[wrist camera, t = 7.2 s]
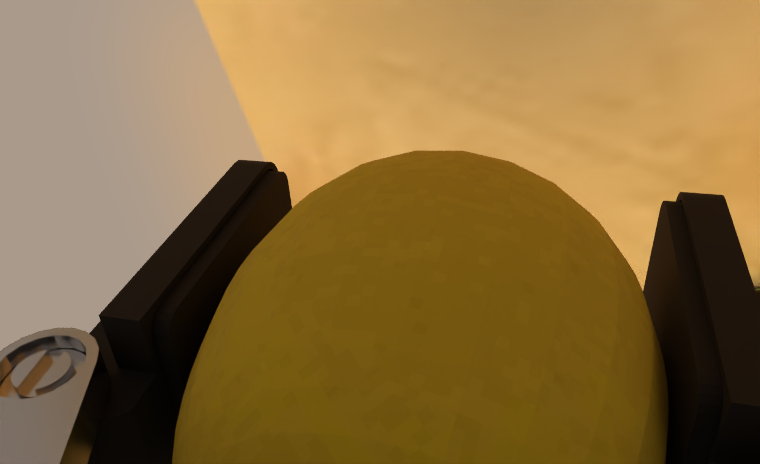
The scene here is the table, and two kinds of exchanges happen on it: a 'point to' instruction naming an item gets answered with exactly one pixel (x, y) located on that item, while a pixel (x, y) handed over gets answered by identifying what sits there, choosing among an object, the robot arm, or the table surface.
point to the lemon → (430, 330)
